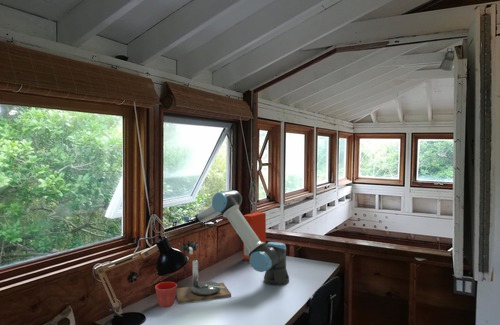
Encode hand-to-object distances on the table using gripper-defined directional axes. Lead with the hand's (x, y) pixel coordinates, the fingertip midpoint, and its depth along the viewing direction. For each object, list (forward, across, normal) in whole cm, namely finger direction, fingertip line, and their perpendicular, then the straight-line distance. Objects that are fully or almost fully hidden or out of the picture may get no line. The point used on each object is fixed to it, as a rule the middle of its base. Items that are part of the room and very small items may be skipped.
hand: (191, 251), depth 213 cm
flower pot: (+20, +16, -20) cm, 33 cm away
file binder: (-42, -53, -20) cm, 70 cm away
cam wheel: (+14, -7, -18) cm, 24 cm away
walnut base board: (+13, -4, -20) cm, 24 cm away
